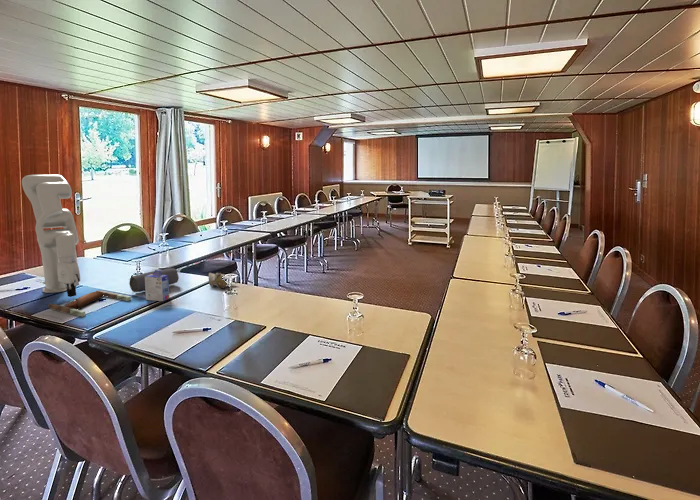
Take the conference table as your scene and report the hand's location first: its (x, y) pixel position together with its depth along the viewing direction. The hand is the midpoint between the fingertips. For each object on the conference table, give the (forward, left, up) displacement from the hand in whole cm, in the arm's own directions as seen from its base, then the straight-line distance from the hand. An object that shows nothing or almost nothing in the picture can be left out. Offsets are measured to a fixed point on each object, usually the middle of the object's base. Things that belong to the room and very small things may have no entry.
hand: (72, 295), depth 201 cm
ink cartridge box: (+35, +20, -2) cm, 40 cm away
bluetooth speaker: (+21, +31, -2) cm, 37 cm away
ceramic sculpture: (+48, +51, -3) cm, 69 cm away
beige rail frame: (+13, 0, -2) cm, 13 cm away
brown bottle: (+9, 0, -3) cm, 9 cm away
